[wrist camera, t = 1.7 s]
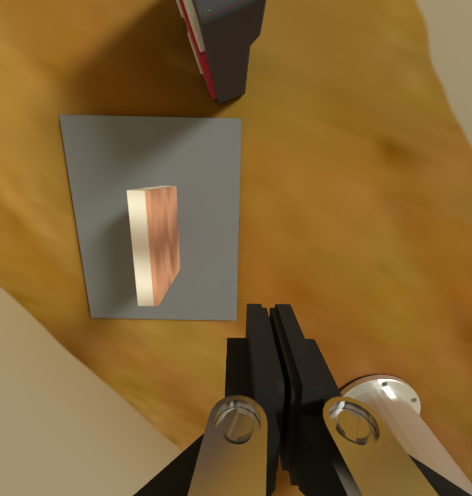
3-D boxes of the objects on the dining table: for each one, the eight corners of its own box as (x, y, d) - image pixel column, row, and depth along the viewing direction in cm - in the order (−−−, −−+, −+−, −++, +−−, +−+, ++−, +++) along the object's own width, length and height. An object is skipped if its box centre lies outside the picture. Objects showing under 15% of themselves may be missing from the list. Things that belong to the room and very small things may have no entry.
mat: (236, 317, 34) (236, 320, 33) (94, 314, 34) (91, 317, 33) (241, 120, 27) (241, 118, 26) (63, 116, 27) (58, 114, 26)
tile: (180, 269, 31) (158, 306, 22) (165, 269, 31) (138, 305, 22) (176, 186, 28) (149, 190, 19) (160, 185, 28) (126, 190, 19)
